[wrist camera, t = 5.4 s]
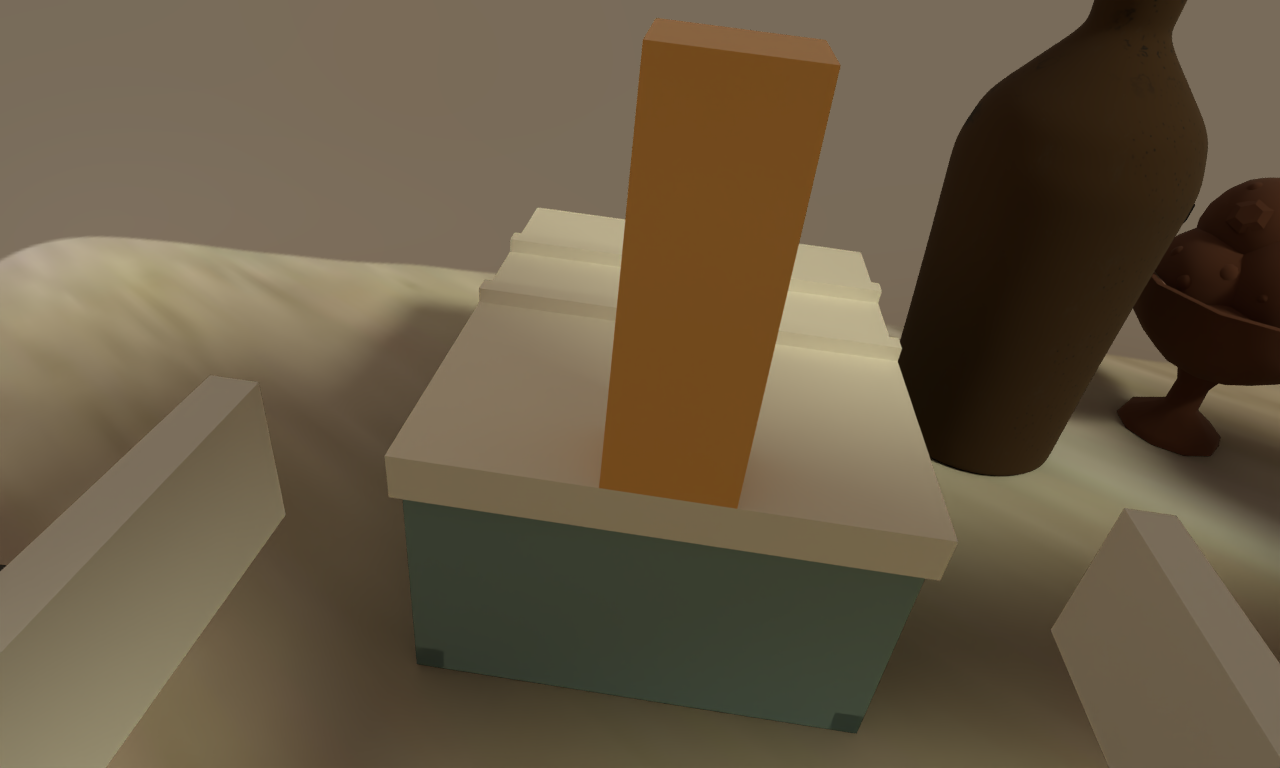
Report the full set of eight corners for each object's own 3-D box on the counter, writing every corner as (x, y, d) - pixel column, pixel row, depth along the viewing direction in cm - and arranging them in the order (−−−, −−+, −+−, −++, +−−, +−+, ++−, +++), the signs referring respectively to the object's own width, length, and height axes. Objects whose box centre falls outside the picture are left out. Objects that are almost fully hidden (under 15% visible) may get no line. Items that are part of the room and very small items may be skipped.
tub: (811, 413, 44) (846, 287, 40) (856, 733, 28) (924, 578, 23) (536, 372, 45) (540, 244, 40) (417, 663, 28) (402, 499, 24)
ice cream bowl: (1043, 415, 47) (1160, 172, 38) (1111, 362, 53) (1224, 145, 45) (1238, 515, 41) (1428, 250, 32) (1289, 440, 47) (1456, 205, 39)
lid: (852, 280, 40) (935, -12, 32) (940, 580, 23) (1157, 107, 15) (536, 236, 40) (546, -61, 33) (388, 497, 23) (338, -1, 16)
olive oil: (929, 493, 39) (1162, -74, 26) (840, 378, 48) (979, -94, 34) (1102, 479, 42) (1398, -43, 28) (988, 372, 50) (1173, -69, 37)
